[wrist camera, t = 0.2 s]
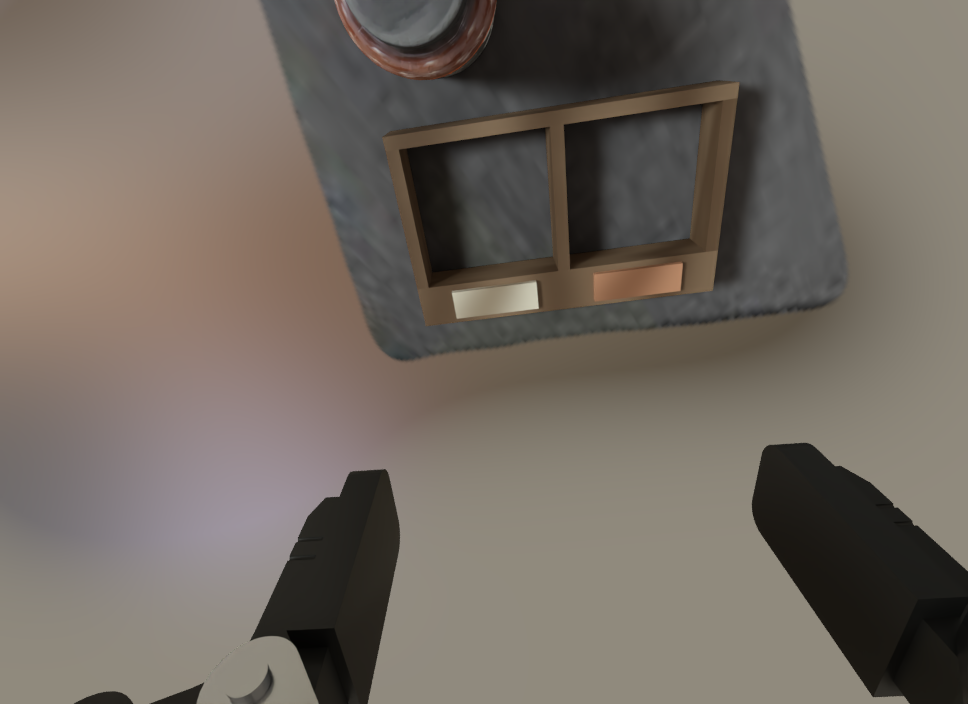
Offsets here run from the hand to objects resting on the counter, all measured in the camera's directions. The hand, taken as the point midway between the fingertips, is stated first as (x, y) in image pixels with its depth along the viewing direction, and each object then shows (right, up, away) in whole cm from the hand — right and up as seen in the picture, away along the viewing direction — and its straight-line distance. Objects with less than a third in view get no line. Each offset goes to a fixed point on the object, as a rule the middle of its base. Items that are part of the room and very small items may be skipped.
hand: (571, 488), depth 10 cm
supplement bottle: (-4, +20, +14) cm, 25 cm away
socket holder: (+2, +12, +19) cm, 22 cm away
